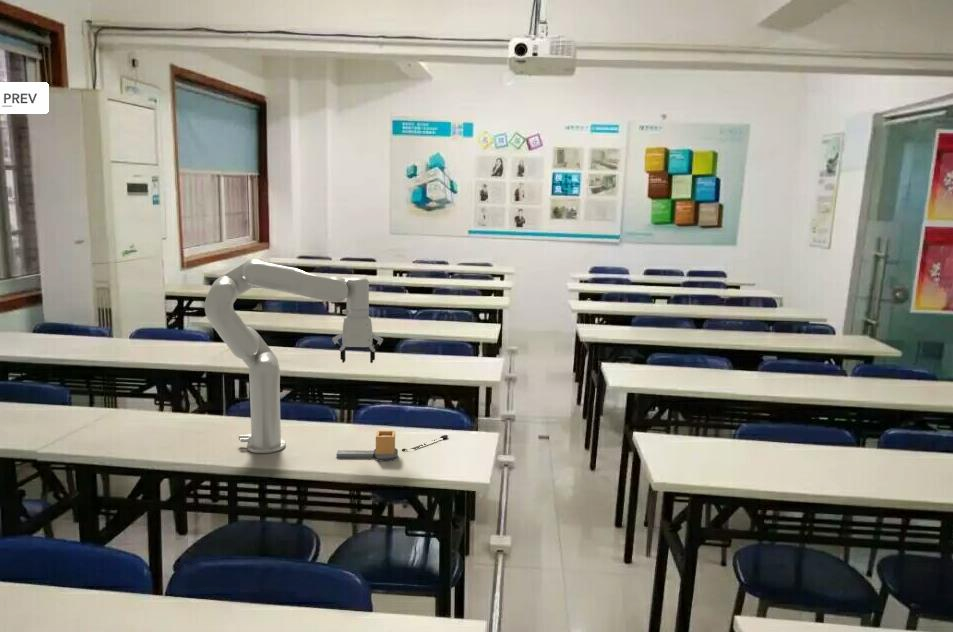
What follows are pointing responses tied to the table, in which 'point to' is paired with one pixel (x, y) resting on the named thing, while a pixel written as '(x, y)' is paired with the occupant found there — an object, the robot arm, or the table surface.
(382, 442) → the socket
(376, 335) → the robot arm
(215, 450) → the table surface
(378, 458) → the ratchet
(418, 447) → the tomahawk
